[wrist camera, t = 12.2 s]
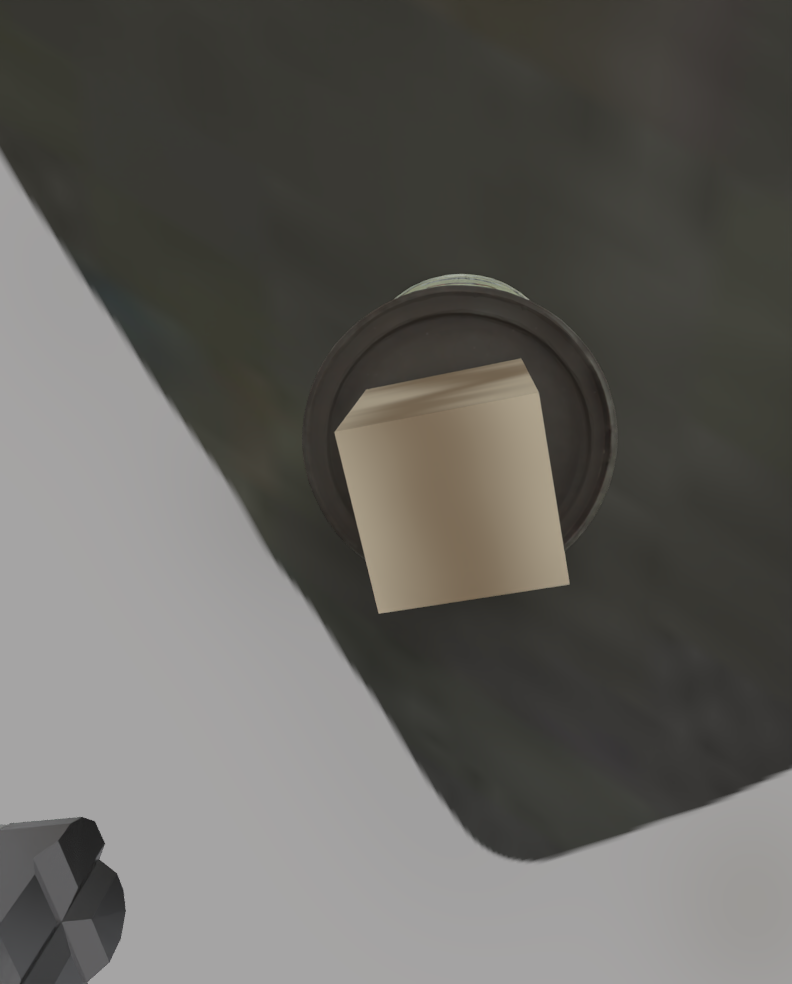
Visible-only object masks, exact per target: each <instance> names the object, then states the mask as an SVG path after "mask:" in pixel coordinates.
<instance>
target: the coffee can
mask: <svg viewBox="0 0 792 984" xmlns="http://www.w3.org/2000/svg"><path fill="white" fill-rule="evenodd" d="M520 358H521V359H522V361H523V363H524V365H525V367H526V368H527V370H528V372H529V374H530V376H531V378H532V380H533V382H534V384H535V386H536V388H537V390H538V392H539V396H540V403H541V409H542V415H543V421H544V428H545V434H546V440H547V446H548V452H549V459H550V465H551V471H552V477H553V483H554V490H555V496H556V502H557V508H558V515H559V521H560V527H561V533H562V539H563V546H564V552H565V551H566V550H567V549H568V548H569V547H570V546H571V545H572V544H573V543H574V542H575V541H576V540H577V539H578V538H579V537H580V535H581V534H582V533H583V532H584V530H585V529H586V528H587V527H588V525H589V524H590V522H591V521H592V520H593V518H594V516H595V515H596V513H597V511H598V510H599V508H600V506H601V504H602V502H603V499H604V497H605V495H606V493H607V490H608V488H609V485H610V482H611V478H612V474H613V470H614V466H615V460H616V454H617V440H618V433H617V421H616V413H615V407H614V404H613V400H612V396H611V392H610V389H609V386H608V383H607V380H606V378H605V376H604V374H603V372H602V370H601V367H600V365H599V364H598V362H597V360H596V359H595V357H594V355H593V354H592V352H591V351H590V350H589V349H588V347H587V346H586V345H585V344H584V343H583V341H582V340H581V339H580V338H579V337H578V336H577V335H576V333H575V332H574V331H573V330H572V329H571V328H570V327H569V326H567V325H566V324H565V323H564V322H563V321H562V320H561V319H559V318H558V317H557V316H555V315H554V314H553V313H551V312H550V311H548V310H546V309H545V308H543V307H541V306H539V305H538V304H536V303H534V302H532V301H530V300H529V299H528V298H526V297H525V296H524V295H523V294H521V293H520V292H519V291H517V290H515V289H514V288H512V287H511V286H509V285H507V284H505V283H503V282H500V281H498V280H495V279H493V278H488V277H484V276H479V275H471V274H453V275H445V276H440V277H436V278H432V279H428V280H426V281H423V282H421V283H419V284H417V285H414V286H412V287H410V288H409V289H407V290H406V291H404V292H403V293H401V294H400V295H399V296H397V297H396V298H395V299H393V300H391V301H389V302H387V303H385V304H383V305H382V306H380V307H378V308H377V309H375V310H373V311H372V312H371V313H369V314H368V315H366V316H365V317H364V318H362V319H361V320H360V321H358V322H357V323H356V324H355V325H354V326H353V327H351V328H350V329H349V330H348V331H347V332H346V333H345V334H344V335H343V336H342V337H341V338H340V340H339V341H338V342H337V343H336V344H335V345H334V347H333V348H332V350H331V351H330V352H329V354H328V355H327V357H326V359H325V360H324V362H323V363H322V365H321V367H320V368H319V371H318V373H317V375H316V377H315V380H314V382H313V384H312V387H311V390H310V394H309V397H308V400H307V405H306V409H305V414H304V421H303V432H302V448H303V457H304V464H305V469H306V473H307V477H308V481H309V484H310V486H311V488H312V492H313V494H314V496H315V499H316V501H317V503H318V505H319V507H320V509H321V510H322V512H323V514H324V516H325V518H326V519H327V521H328V522H329V523H330V525H331V526H332V528H333V529H334V530H335V532H336V533H337V535H338V536H339V537H340V538H341V539H342V540H343V541H344V542H345V543H346V544H347V545H348V546H349V547H350V548H351V549H352V550H353V551H354V552H356V553H357V554H358V555H359V556H360V557H362V558H363V559H364V560H365V556H364V551H363V547H362V543H361V539H360V535H359V531H358V527H357V523H356V519H355V515H354V511H353V506H352V502H351V498H350V494H349V490H348V486H347V482H346V478H345V474H344V470H343V465H342V461H341V457H340V453H339V449H338V445H337V441H336V437H335V433H334V432H335V431H336V429H337V428H338V427H339V425H340V424H341V423H342V421H343V420H344V419H345V417H346V416H347V415H348V413H349V412H350V411H351V409H352V408H353V407H354V405H355V404H356V403H357V401H358V400H359V398H360V397H361V396H362V394H363V393H364V392H365V390H367V389H371V388H376V387H381V386H386V385H391V384H396V383H401V382H406V381H411V380H416V379H421V378H426V377H431V376H436V375H441V374H446V373H451V372H456V371H461V370H466V369H471V368H476V367H481V366H486V365H491V364H495V363H500V362H505V361H510V360H515V359H520Z"/></svg>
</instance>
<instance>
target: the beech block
mask: <svg viewBox="0 0 792 984" xmlns="http://www.w3.org/2000/svg"><path fill="white" fill-rule="evenodd" d="M334 433H335V437H336V441H337V445H338V449H339V453H340V457H341V461H342V465H343V470H344V474H345V478H346V482H347V486H348V490H349V494H350V498H351V502H352V506H353V511H354V515H355V519H356V523H357V527H358V531H359V535H360V539H361V543H362V547H363V551H364V556H365V560H366V564H367V568H368V572H369V576H370V580H371V584H372V588H373V592H374V596H375V601H376V605H377V609H378V613H379V614H380V613H387V612H393V611H400V610H406V609H413V608H419V607H426V606H432V605H439V604H445V603H452V602H458V601H465V600H471V599H478V598H484V597H491V596H497V595H504V594H510V593H517V592H523V591H530V590H536V589H543V588H549V587H556V586H562V585H569V584H570V583H569V577H568V571H567V564H566V558H565V552H564V546H563V539H562V533H561V527H560V521H559V515H558V508H557V502H556V496H555V490H554V483H553V477H552V471H551V465H550V459H549V452H548V446H547V440H546V434H545V428H544V421H543V415H542V409H541V403H540V396H539V392H538V390H537V388H536V386H535V384H534V382H533V380H532V378H531V376H530V374H529V372H528V370H527V368H526V367H525V365H524V363H523V361H522V359H521V358H520V359H515V360H510V361H505V362H500V363H495V364H491V365H486V366H481V367H476V368H471V369H466V370H461V371H456V372H451V373H446V374H441V375H436V376H431V377H426V378H421V379H416V380H411V381H406V382H401V383H396V384H391V385H386V386H381V387H376V388H371V389H367V390H365V392H364V393H363V394H362V396H361V397H360V398H359V400H358V401H357V403H356V404H355V405H354V407H353V408H352V409H351V411H350V412H349V413H348V415H347V416H346V417H345V419H344V420H343V421H342V423H341V424H340V425H339V427H338V428H337V429H336V431H335V432H334Z"/></svg>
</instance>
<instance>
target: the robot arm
mask: <svg viewBox="0 0 792 984" xmlns="http://www.w3.org/2000/svg"><path fill="white" fill-rule="evenodd" d="M104 844H105V843H104V841H103V839H102V836H101V834H100V832H99V830H98V827H97V825H96V823H95V822H94V821H92V820H89V819H86V818H83V817H77V818H67V819H55V820H44V821H32V822H22V823H10V824H8V825H0V984H88V983H87V982H88V981H89V980H90V979H91V978H92V977H93V976H95V975H96V974H97V973H98V972H99V971H100V970H101V969H102V968H103V967H105V966H106V965H107V964H108V963H109V962H110V960H111V958H112V956H113V953H114V952H115V949H116V947H117V945H118V943H119V941H120V939H121V933H122V929H123V923H124V917H125V912H126V910H125V901H124V892H123V888H122V886H121V883H120V880H119V878H118V875H117V873H116V872H114V871H113V870H112V869H111V868H109V867H108V866H107V865H105V864H104V863H103V862H101V861H100V860H99V859H100V856H101V853H102V850H103V847H104Z"/></svg>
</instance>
